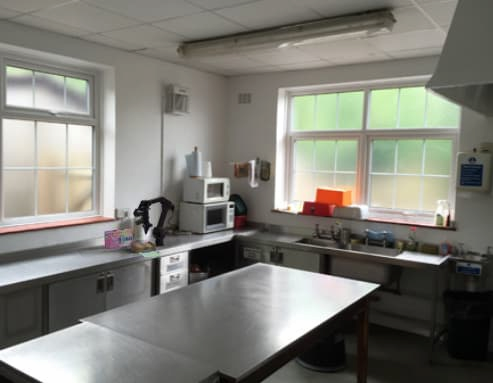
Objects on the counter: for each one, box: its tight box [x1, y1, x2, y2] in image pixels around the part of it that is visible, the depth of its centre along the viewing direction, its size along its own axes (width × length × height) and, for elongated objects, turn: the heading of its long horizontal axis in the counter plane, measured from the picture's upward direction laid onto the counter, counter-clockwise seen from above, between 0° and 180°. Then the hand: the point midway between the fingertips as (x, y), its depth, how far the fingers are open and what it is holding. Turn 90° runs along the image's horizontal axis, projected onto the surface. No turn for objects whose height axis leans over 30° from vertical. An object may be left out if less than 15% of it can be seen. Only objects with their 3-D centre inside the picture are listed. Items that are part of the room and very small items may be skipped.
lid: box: [138, 250, 162, 258], centre depth 341 cm, size 13×18×3 cm
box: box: [129, 240, 157, 254], centre depth 357 cm, size 16×18×5 cm
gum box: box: [103, 227, 134, 250], centre depth 372 cm, size 24×8×14 cm, turn 138°
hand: (145, 234), depth 362 cm, fingers closed
